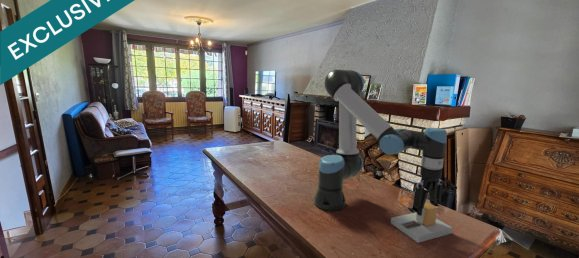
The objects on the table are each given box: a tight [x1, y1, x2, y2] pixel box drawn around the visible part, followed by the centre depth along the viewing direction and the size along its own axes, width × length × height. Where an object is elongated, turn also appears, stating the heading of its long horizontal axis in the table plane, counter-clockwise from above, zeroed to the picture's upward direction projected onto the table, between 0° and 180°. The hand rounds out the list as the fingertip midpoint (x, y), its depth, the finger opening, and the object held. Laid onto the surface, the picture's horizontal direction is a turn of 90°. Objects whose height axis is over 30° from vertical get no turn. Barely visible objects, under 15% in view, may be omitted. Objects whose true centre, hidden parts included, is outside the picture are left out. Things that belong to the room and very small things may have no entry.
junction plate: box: [390, 212, 453, 244], centre depth 102 cm, size 18×14×8 cm
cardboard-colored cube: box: [416, 201, 438, 226], centre depth 102 cm, size 5×5×7 cm
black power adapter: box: [407, 204, 417, 213], centre depth 115 cm, size 12×7×5 cm, turn 10°
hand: (424, 220), depth 103 cm, fingers closed on cardboard-colored cube, 5 cm apart
